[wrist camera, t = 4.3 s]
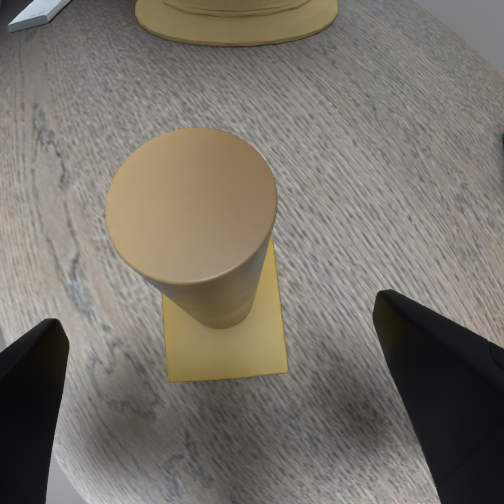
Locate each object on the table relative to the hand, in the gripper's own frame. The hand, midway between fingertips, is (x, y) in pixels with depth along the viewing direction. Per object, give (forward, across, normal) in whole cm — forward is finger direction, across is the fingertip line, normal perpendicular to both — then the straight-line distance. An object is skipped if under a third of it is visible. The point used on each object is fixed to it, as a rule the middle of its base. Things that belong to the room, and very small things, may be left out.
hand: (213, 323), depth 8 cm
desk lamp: (+31, -3, -17) cm, 35 cm away
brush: (+8, 0, +5) cm, 9 cm away
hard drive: (+38, +22, -24) cm, 50 cm away
